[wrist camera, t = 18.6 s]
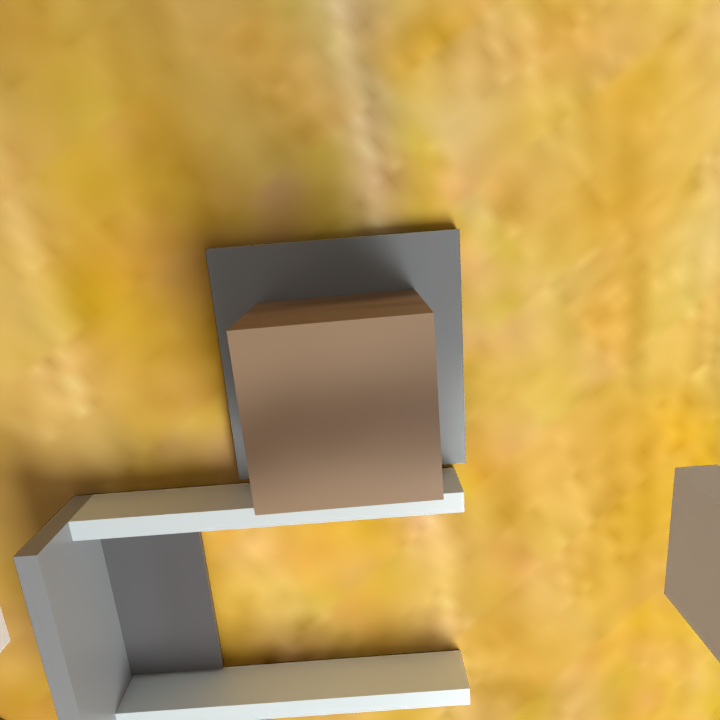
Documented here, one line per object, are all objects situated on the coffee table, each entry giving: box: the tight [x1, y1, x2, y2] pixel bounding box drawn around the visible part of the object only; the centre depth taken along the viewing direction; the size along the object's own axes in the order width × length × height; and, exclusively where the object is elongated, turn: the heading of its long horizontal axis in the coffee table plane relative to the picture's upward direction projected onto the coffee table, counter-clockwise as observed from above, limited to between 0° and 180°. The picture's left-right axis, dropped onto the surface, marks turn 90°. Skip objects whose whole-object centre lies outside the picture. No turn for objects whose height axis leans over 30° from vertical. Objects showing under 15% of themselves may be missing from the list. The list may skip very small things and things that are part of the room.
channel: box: [13, 467, 470, 720], centre depth 26 cm, size 12×19×5 cm, turn 94°
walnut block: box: [227, 289, 444, 515], centre depth 22 cm, size 7×7×6 cm
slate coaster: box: [205, 229, 466, 480], centre depth 25 cm, size 11×11×1 cm
